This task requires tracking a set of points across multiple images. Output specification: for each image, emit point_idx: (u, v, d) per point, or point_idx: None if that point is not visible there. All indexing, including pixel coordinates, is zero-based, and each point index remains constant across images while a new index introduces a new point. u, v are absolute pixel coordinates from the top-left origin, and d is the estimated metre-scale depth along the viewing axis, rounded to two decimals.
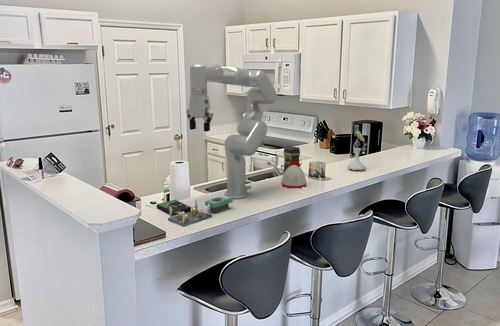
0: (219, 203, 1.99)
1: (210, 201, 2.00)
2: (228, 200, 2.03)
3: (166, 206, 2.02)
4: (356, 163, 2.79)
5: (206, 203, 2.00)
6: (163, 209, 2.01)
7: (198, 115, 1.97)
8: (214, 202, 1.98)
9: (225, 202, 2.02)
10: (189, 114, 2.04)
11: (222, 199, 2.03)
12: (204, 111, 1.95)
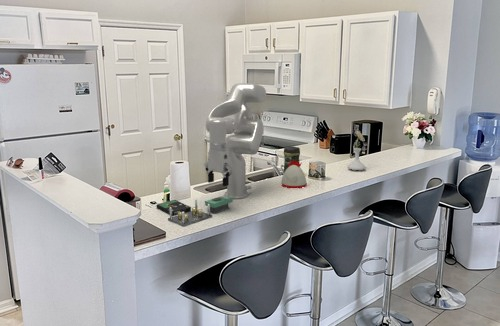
0: (219, 203, 1.99)
1: (210, 201, 2.00)
2: (228, 200, 2.03)
3: (166, 206, 2.02)
4: (356, 163, 2.79)
5: (206, 203, 2.00)
6: (163, 209, 2.01)
7: (217, 169, 1.96)
8: (214, 202, 1.98)
9: (225, 202, 2.02)
10: (207, 167, 2.03)
11: (222, 199, 2.03)
12: (223, 166, 1.95)
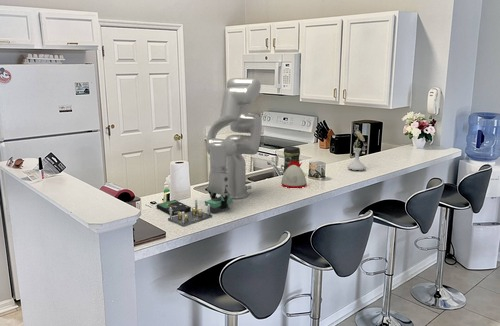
0: (219, 203, 1.99)
1: (210, 201, 2.00)
2: (228, 200, 2.03)
3: (166, 206, 2.02)
4: (356, 163, 2.79)
5: (206, 203, 2.00)
6: (163, 209, 2.01)
7: (218, 191, 1.99)
8: (214, 202, 1.98)
9: None
10: (210, 190, 2.05)
11: None
12: (224, 188, 1.97)
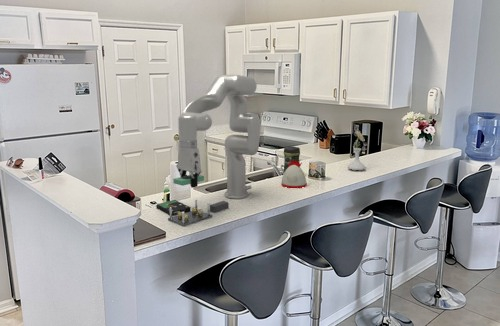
0: (188, 181, 1.84)
1: (179, 179, 1.85)
2: (199, 178, 1.88)
3: (166, 206, 2.02)
4: (356, 163, 2.79)
5: (174, 181, 1.85)
6: (163, 209, 2.01)
7: (187, 168, 1.84)
8: (183, 179, 1.83)
9: None
10: None
11: None
12: (193, 165, 1.82)
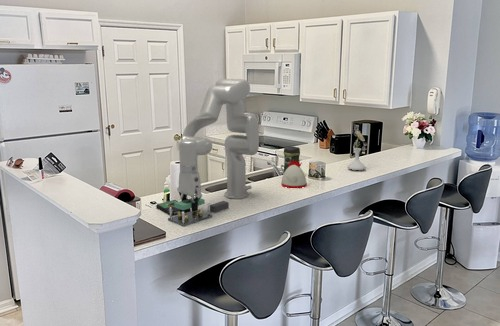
0: (189, 205, 1.86)
1: (179, 203, 1.87)
2: (199, 202, 1.91)
3: (166, 206, 2.02)
4: (356, 163, 2.79)
5: (175, 205, 1.87)
6: (163, 209, 2.01)
7: (188, 193, 1.86)
8: (184, 204, 1.86)
9: None
10: None
11: None
12: (194, 189, 1.85)
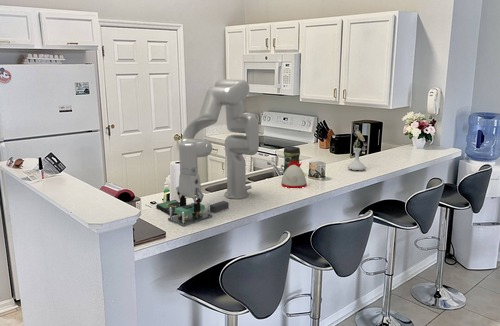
0: (189, 211, 1.87)
1: (180, 208, 1.88)
2: (200, 207, 1.91)
3: (166, 206, 2.02)
4: (356, 163, 2.79)
5: (176, 211, 1.88)
6: (163, 209, 2.01)
7: (188, 195, 1.87)
8: (184, 210, 1.86)
9: None
10: (179, 191, 1.94)
11: (193, 206, 1.91)
12: (194, 191, 1.85)
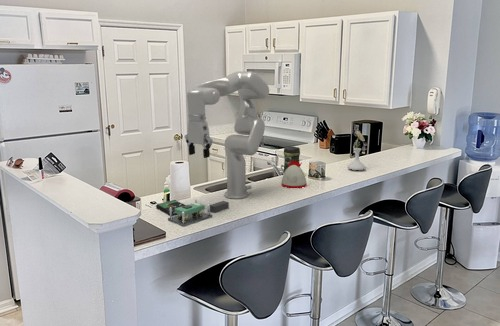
0: (189, 211, 1.87)
1: (180, 208, 1.88)
2: (200, 207, 1.91)
3: (165, 206, 2.02)
4: (356, 163, 2.79)
5: (176, 211, 1.88)
6: (163, 209, 2.01)
7: (197, 141, 1.92)
8: (184, 210, 1.86)
9: (196, 209, 1.90)
10: (188, 139, 1.99)
11: (193, 206, 1.91)
12: (203, 138, 1.91)
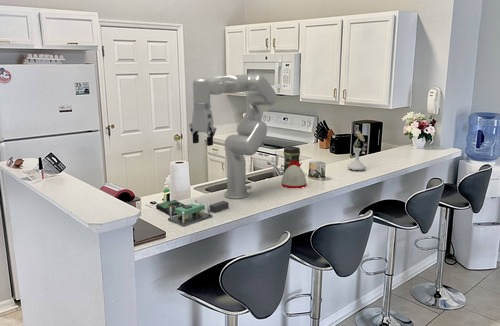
0: (189, 211, 1.87)
1: (180, 208, 1.88)
2: (200, 207, 1.91)
3: (165, 206, 2.02)
4: (356, 163, 2.79)
5: (176, 211, 1.88)
6: (163, 209, 2.01)
7: (201, 129, 1.97)
8: (184, 210, 1.86)
9: (196, 209, 1.90)
10: (192, 128, 2.04)
11: (193, 206, 1.91)
12: (207, 126, 1.95)
